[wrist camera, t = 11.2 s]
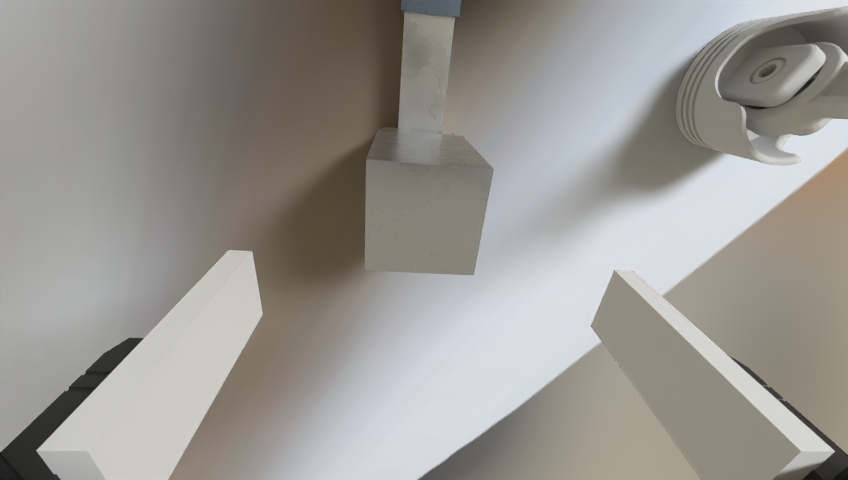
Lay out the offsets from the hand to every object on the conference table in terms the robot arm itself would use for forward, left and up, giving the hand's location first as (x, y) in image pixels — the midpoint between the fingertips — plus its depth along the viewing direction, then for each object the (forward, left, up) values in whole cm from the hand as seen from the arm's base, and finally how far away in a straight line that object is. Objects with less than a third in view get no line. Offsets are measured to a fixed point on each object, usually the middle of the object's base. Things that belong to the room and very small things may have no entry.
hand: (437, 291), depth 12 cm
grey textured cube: (0, 0, -17) cm, 17 cm away
